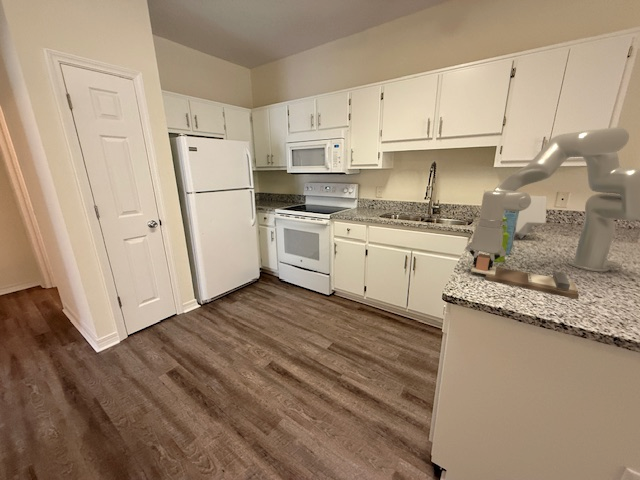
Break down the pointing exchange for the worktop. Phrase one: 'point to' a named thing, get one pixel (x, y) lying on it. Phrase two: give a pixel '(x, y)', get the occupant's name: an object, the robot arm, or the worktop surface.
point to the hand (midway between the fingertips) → (482, 267)
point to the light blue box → (511, 227)
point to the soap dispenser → (504, 242)
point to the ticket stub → (483, 265)
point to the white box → (531, 216)
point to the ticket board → (536, 282)
